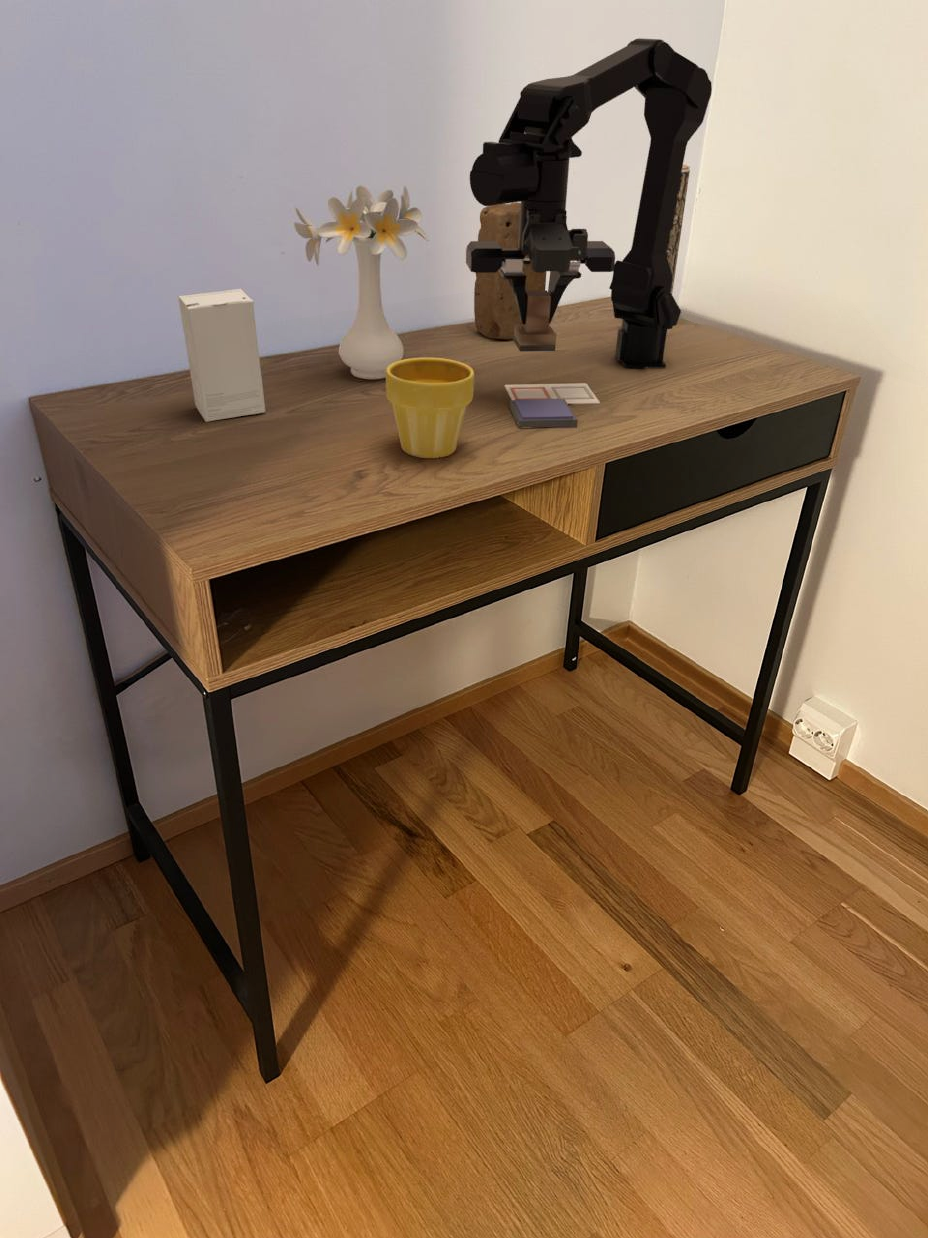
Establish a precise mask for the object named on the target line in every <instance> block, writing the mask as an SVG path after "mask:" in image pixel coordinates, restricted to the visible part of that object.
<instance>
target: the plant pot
mask: <svg viewBox="0 0 928 1238" xmlns="http://www.w3.org/2000/svg"><path fill="white" fill-rule="evenodd" d="M474 389H475V371H474V369H473V368H472V367H471V366H470V365H467V364H466V363H464V362H461V361H458V360H454V359H448V358H442V357H412V358H404V359H401V360H400V361H397V362H394V363H392V364H390V365H389V366H388V367H387V369H386V378H385V395H386V398H387V400H388V401H389V403H391V405H392V408H393V409H392V410H393V413H394V418H395V422H396V427H397V431H398V437H399V441H400V445H401V448H402V451H404V452H405V453H406V454H408V455H410V456H413V457H416V458H421V459H440V458H444V457H448V456H450V455H452V454H453V453H455V451H456V450H457V446H458V442H459V437H460V433H461V429H462V425H463V422H464V418H465V413H466V409H467V406H468V405H469V404H470V403H472V401H473V399H474ZM439 457H440V458H439Z"/></svg>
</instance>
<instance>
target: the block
mask: <svg viewBox="0 0 928 1238" xmlns="http://www.w3.org/2000/svg"><path fill="white" fill-rule="evenodd" d="M520 203H521V202H514V203H507V204H499V205H492V206H484V208H483V207H482V209H481V210H480V212H479V222H480V229H479V230H478V235H477V241H496V242H497V243H498V244H499V246H500V247H501V248H502V249H518V239H519V226H520ZM526 257H528V256H526ZM523 272H524V273H525V274H526V275H527V277H526V284H525V290H546V286H547V285H546V283H547V271H545V272H544V273H538V272H535V271H533V270H532V269H531V264H523ZM475 277H476V279H475V281H474V289H473V290H474V292H473V309H474V310H473V311H474V314H473V315H474V325H475V328H476V330H477V331H478V332H480V334H481V335H482V336H484V337H486V338H489V339H493V340H505V341H507V340H508V341H510V340H514V328H515V325H522V323H521V319H520V316H519V312H518V308H517V305H516V301H515V297H514V294H513V290H512V287H511V285H510V283H509V280H508V279H505V278H503V277H502V276H501V274H500V273H499V271H497V272H496V273H475Z"/></svg>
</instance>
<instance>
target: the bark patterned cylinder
mask: <svg viewBox="0 0 928 1238" xmlns="http://www.w3.org/2000/svg"><path fill="white" fill-rule="evenodd" d="M690 168H691V166H690V165H687V164H683V167H682V172H681V177H680V182H679V187H678V192H677V197H676V203H675V208H674V213H673V218H672V223H671V228H670V234H669V239H668V244H667V249H666V256H667V259H668V262H669V265H670V269H671V272H672V284H671V294H672V295H673V293H674V292H673V291H674V284H675V276H676V272H677V271H676V269H677V264H678V256H679V248H680V242H681V234H682V227H683V221H684V216H685V215H684V213H685V206H686V198H687V193H688V192H687V191H688V185H689V178H690V171H691V170H690Z"/></svg>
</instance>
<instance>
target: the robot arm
mask: <svg viewBox="0 0 928 1238" xmlns="http://www.w3.org/2000/svg"><path fill="white" fill-rule="evenodd" d="M633 88H635V90H637V92H638V93H640V95H641V96H642V97H643V98H644V107H643V108H644V109H643V117H644V118H643V119H644V121H645V125H646V127H647V130H648V133H649V136H650V142H649V143H650V144H649V148H648V153H647V154H648V155H647V160H646V165H645V170H644V176H643V181H642V186H641V187H642V189H641V193H640V198H639V199H640V200H639V203H638V204H639V205H638V209H637V210H638V211H637V215H636V216H637V217H636V222H635V228H634V233H633V239H632V245H631V249H630V250H629V251H628V252H627V254H626V255H625V257H624V258H623V259H622V260H616V254H615V251H614V249H613V248H612V247H610V246H609V245H608V244H607V243H606V242H605V241H604V240H602V241H601V240H588V239H589V238H588V237H589V234H588V233H589V232H588V231H587V229H586V228H571V229H569V227H568V225H567V218H568V217H567V197H568V194H567V193H568V184H569V171H570V170H569V169H570V168H569V167H570V159H573V158H581V156H582V155H583V151H582V150H581V149H580V148H579V146H578V145H577V144H576V143H575V142H574V140H573V137H574V136H575V135H576V134H578V133H579V131H581V130H582V129H583V128H584V127H585V126H586V125H587V124H588V123H589V122H590V118H591V116H592V113H593V112H594V111H595V110H596V109H598V108H600V107H602V106H603V105H605V104H607V103H609V102H611V101H612V100H614V99H616V98H617V97H619V96H621V95H623V94H625V93H627V92H628V91H630V90H632V89H633ZM712 90H713V87H712V81H711V79H710V78H709V75H708V73H707V71H706V70H705V69H704V68H702V67H699V65H698V64H696V63H695V62H693V61H691V60H690V59H688V58H687V57H685V56H683V55H681V54H680V53H679V52H676V51H675V50H674V49H673V47H672V46H671V45H670V44H669V43H668V42H666V41H665V40H663V39H661V38H660V39H659V38H640V37H639V38H635V39H633V40H631V41H630V42H629V43H627V45H626V46H624V47H622V48H621V49H619V50H617V51H615V52H613V53H611V54H609V55H607V56H606V57H604V58H602V59H600V60H598V61H597V62H594V63H592V64H591V65H589V66H587V67H585V68H584V69H581V70H580V71H578V72H576V73H573V74H572V75H568V76H562V77H552V78H546V79H542V80H537V81H533V82H530V83H528V84H526V86H524V87H523V88H522V90H520V92H519V95H520V97H519V99H518V101H517V103H516V106H514V109H513V111H512V112H511V114H510V117H509V119H508V121H507V123H506V124H505V127H504V129H503V131H502V132H501V135H500V136H499V139H498V142H496V141H484V142H483V144H482V153H481V154H480V155H479V156H477V157H476V159H475V160H474V161H473V164H472V168H471V170H470V171H469V185H470V190H471V193H472V196H473V197H474V198H475V200H476V201H477V202H478V203H479V204H480V205H482V206H483V207H487V206H492V205H499V204H511V203H520V226H519V239H518V249H502V248H501V247H500V246H499V244H498V243H497V242H496V241H478V240H473V241H470V242H469V243H467V245H466V249H465V264H466V265H467V267H468V269H469V271H470V272H472V273H475V274H476V273H496V272H497V271H499V273H500V274H501V276H502V277H503V278H505V279H508V280H509V283H510V285H511V287H512V290H513V294H514V297H515V301H516V305H517V308H518V312H519V316H520V319H521V323H522V324H523V325H525V323H526V290H525V284H526V277H527V275H526V274H525V273H524V272H523V264H531V269H532V270H533V271H535V272H538V273H544V272H545V271H546V272H549V279H548V287H547V292H548V293H549V294H550V295H551V303H550V317H549V325H551V323H552V320H553V318H554V316H555V314H556V310H557V308H558V305H559V304H560V301H561V299H562V296H563V294H564V292H565V291H566V289H567V287H568V286H569V285H570V284H571V283H572V281H574V280H575V279H578V280H579V279H581V277H582V273H581V272H580V271H579V269H580V267H581V265H583V264H584V265H585V267H586V268H587V269H588V270H589V271H590V272H591V273H611V272H612V279H611V282H610V285H609V289H610V290H611V291H610V301H611V302H612V309H613V317H614V318H615V319H619V320H622V321H621V323H622V324H621V328H619V329H618V330H617V337H616V345H615V353H614V356H615V358H617V359H618V361H619V363H621V365H622V366H623V367H625V368H627V369H629V368H631V369H634V368H636V369H637V368H638V369H639V368H666V367H667V363H666V361H664V356H665V346H666V341H667V333H668V330H672V329H673V327H675V326H677V324H678V322H679V319H680V317H681V313H682V311H681V309H680V306H679V305H678V302H677V301H676V300H675V298H674V296H673V293H672V294H671V284H672V272H671V269H670V265H669V262H668V259H667V256H666V249H667V244H668V239H669V234H670V228H671V223H672V218H673V213H674V208H675V203H676V197H677V192H678V187H679V182H680V177H681V172H682V167H683V165H684V162H685V155H686V150H687V147H688V146H687V145H688V143H689V141H690V140H691V139H692V137H693V136H694V134H695V133H696V132H697V130H698V129H699V128H700V127H701V125H702V124H703V122H704V119H705V116H706V112H707V108H708V106H709V103H710V99H711V96H712ZM526 256H528V257H526Z"/></svg>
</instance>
